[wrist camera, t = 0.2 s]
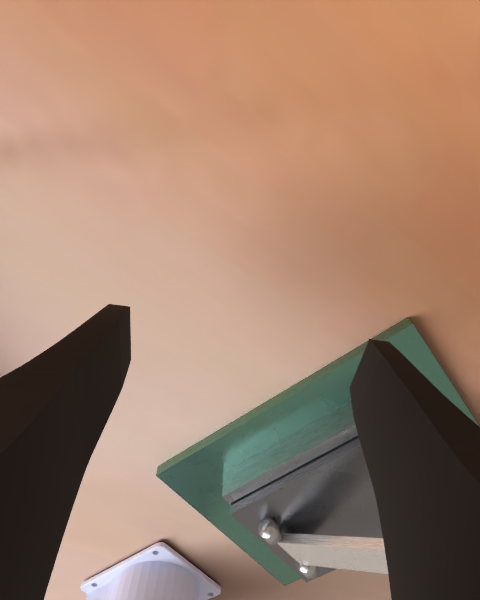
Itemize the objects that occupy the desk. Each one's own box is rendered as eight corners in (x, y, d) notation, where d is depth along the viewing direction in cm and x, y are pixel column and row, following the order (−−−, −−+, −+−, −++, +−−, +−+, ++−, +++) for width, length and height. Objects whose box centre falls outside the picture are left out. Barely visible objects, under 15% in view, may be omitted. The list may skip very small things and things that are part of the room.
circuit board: (283, 575, 33) (290, 648, 29) (158, 466, 28) (141, 534, 23) (508, 473, 28) (561, 541, 24) (407, 317, 23) (449, 365, 18)
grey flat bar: (302, 554, 26) (300, 564, 26) (278, 532, 25) (276, 542, 25) (459, 569, 20) (459, 582, 20) (435, 541, 19) (435, 553, 19)
